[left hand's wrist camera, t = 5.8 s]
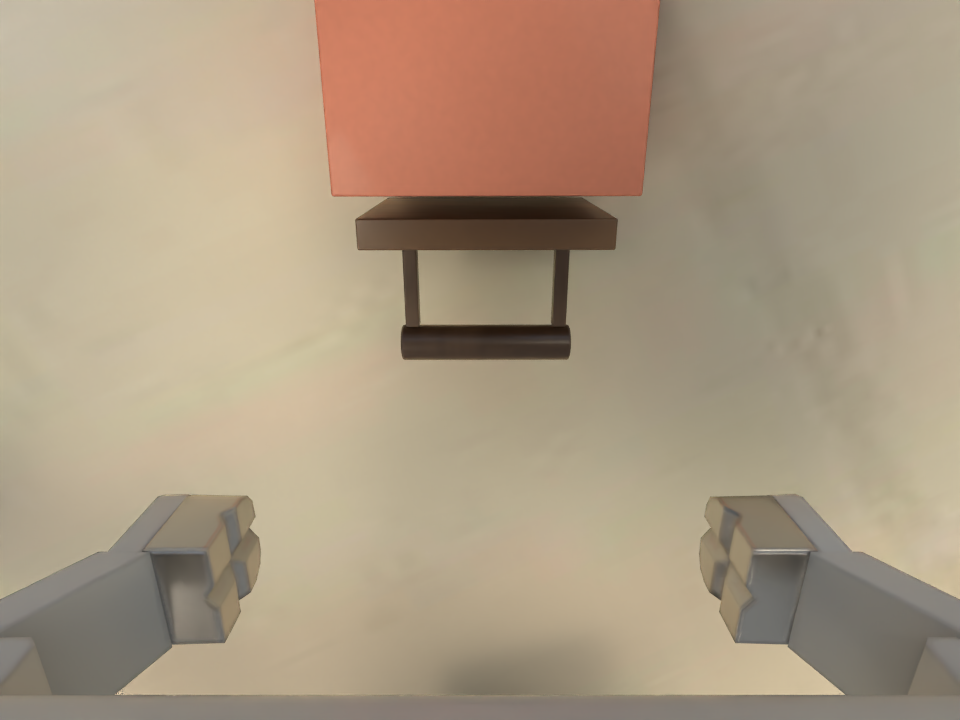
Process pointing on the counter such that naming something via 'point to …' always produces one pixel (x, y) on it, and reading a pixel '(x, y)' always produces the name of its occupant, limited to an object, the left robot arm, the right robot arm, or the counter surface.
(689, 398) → the counter surface
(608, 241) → the drawer
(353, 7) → the cabinet
